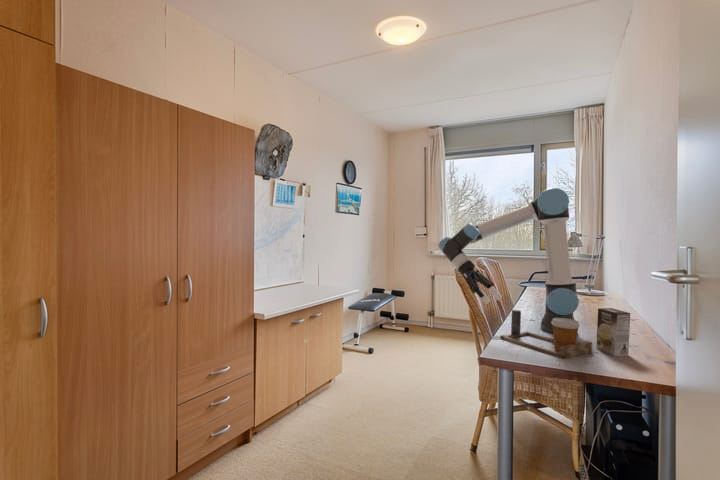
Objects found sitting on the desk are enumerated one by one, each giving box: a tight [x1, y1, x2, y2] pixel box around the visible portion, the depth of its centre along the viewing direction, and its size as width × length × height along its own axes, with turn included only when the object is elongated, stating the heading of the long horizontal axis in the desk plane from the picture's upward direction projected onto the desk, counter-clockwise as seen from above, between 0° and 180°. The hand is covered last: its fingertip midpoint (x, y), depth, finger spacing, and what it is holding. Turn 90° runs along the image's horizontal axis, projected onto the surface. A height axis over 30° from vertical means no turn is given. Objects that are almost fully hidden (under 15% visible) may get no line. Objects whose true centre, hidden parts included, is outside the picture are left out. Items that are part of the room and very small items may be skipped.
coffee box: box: [596, 307, 631, 357], centre depth 143 cm, size 9×6×16 cm
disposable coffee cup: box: [551, 318, 581, 352], centre depth 142 cm, size 10×10×12 cm
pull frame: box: [499, 309, 593, 360], centre depth 150 cm, size 17×29×11 cm, turn 28°
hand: (494, 300), depth 167 cm, fingers open, 13 cm apart
